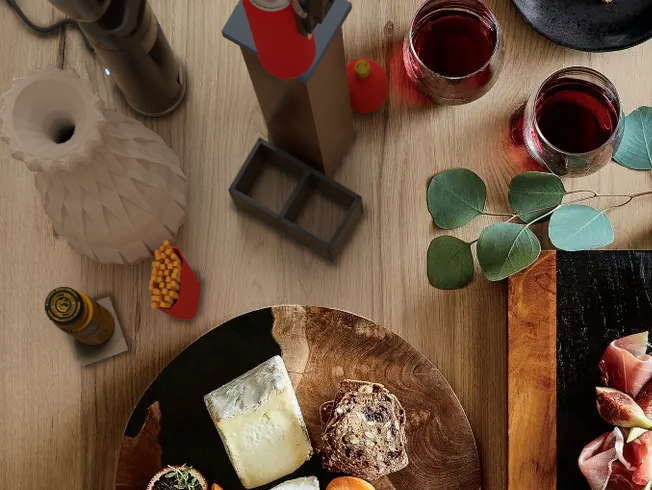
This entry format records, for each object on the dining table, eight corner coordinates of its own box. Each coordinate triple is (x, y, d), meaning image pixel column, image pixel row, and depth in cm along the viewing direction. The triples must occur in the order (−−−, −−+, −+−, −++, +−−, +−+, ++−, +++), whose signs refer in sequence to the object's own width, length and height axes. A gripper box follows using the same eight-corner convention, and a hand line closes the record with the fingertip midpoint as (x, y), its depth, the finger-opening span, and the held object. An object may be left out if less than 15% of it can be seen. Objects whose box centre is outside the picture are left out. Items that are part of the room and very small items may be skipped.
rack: (236, 206, 122) (227, 190, 116) (266, 155, 122) (259, 136, 116) (333, 263, 122) (330, 250, 116) (363, 212, 122) (362, 196, 116)
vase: (53, 263, 122) (-59, 181, 92) (85, 133, 122) (-17, 9, 92) (183, 295, 122) (113, 223, 92) (215, 164, 122) (156, 49, 92)
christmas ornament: (355, 131, 122) (351, 96, 112) (332, 89, 122) (326, 51, 112) (397, 107, 122) (397, 71, 112) (374, 66, 122) (371, 25, 112)
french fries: (174, 266, 122) (148, 236, 109) (203, 269, 122) (180, 240, 109) (167, 327, 122) (140, 305, 109) (196, 330, 122) (172, 308, 109)
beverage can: (319, 28, 88) (308, -48, 76) (313, 85, 88) (301, 18, 76) (261, 22, 88) (241, -55, 76) (255, 79, 88) (234, 11, 76)
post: (275, 151, 122) (234, 33, 92) (302, 105, 122) (271, -29, 92) (327, 182, 122) (303, 73, 92) (354, 135, 122) (340, 11, 92)
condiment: (109, 296, 122) (78, 272, 110) (128, 350, 122) (99, 331, 110) (63, 313, 122) (27, 291, 110) (83, 366, 122) (48, 350, 110)
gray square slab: (222, 36, 92) (220, 31, 91) (267, -41, 92) (266, -47, 91) (307, 85, 92) (306, 80, 91) (352, 8, 92) (351, 2, 91)
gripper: (352, -116, 64) (359, 14, 81) (193, -210, 64) (234, -61, 81) (302, -33, 64) (320, 80, 81) (144, -127, 64) (195, 5, 81)
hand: (277, 9), depth 81 cm, fingers closed on beverage can, 6 cm apart
